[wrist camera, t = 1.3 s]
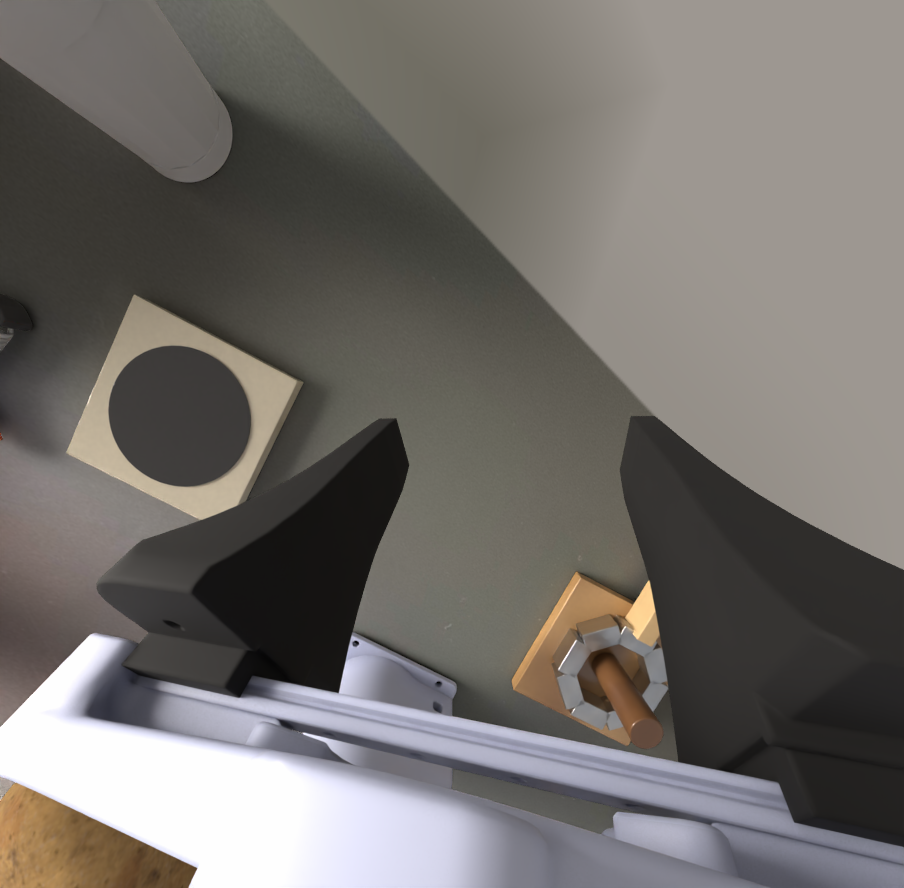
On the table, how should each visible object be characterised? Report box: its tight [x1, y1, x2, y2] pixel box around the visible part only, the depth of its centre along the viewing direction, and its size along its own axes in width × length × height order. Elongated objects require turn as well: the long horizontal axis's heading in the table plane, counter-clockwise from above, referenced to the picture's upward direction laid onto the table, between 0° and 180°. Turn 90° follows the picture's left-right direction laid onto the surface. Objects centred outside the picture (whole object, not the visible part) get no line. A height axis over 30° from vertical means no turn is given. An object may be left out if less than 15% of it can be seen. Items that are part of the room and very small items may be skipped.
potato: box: [0, 783, 198, 888], centre depth 23 cm, size 9×16×9 cm, turn 31°
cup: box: [0, 0, 233, 182], centre depth 17 cm, size 8×8×12 cm
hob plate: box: [66, 295, 303, 520], centre depth 24 cm, size 12×12×1 cm
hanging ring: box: [551, 580, 668, 731], centre depth 24 cm, size 8×12×2 cm, turn 152°
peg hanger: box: [512, 572, 668, 749], centre depth 23 cm, size 10×10×6 cm
